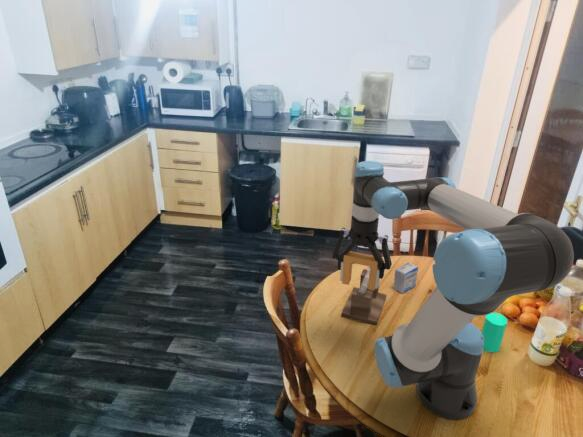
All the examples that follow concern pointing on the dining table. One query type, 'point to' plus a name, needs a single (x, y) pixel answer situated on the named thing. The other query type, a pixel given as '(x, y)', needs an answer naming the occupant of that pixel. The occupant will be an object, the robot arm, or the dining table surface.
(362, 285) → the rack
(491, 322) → the candle
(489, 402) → the dining table surface
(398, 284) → the medicine box
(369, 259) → the orange open frame
